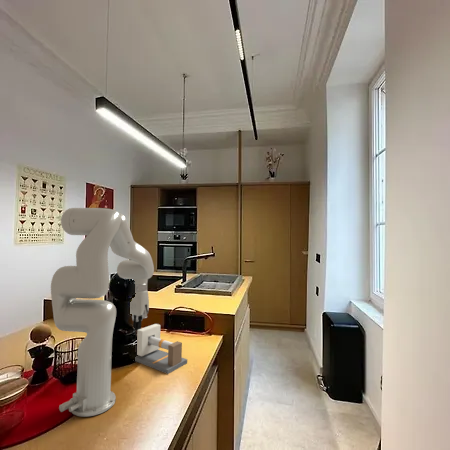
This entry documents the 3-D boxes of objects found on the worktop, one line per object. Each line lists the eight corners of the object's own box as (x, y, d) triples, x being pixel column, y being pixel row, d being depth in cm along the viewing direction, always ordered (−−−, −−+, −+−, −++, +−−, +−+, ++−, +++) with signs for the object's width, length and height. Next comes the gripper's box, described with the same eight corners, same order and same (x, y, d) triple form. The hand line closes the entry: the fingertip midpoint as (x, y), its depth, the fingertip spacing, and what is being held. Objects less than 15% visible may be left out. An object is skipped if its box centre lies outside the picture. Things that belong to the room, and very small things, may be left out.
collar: (141, 356, 117) (142, 331, 117) (136, 354, 118) (137, 329, 118) (159, 348, 125) (160, 325, 125) (154, 346, 127) (155, 323, 127)
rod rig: (167, 374, 108) (168, 349, 108) (129, 358, 120) (129, 336, 120) (187, 363, 117) (187, 340, 117) (149, 349, 129) (149, 329, 129)
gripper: (120, 286, 127) (118, 328, 127) (143, 291, 119) (142, 336, 119) (133, 284, 133) (132, 324, 133) (157, 288, 125) (155, 331, 125)
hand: (137, 329), depth 126 cm, fingers closed
